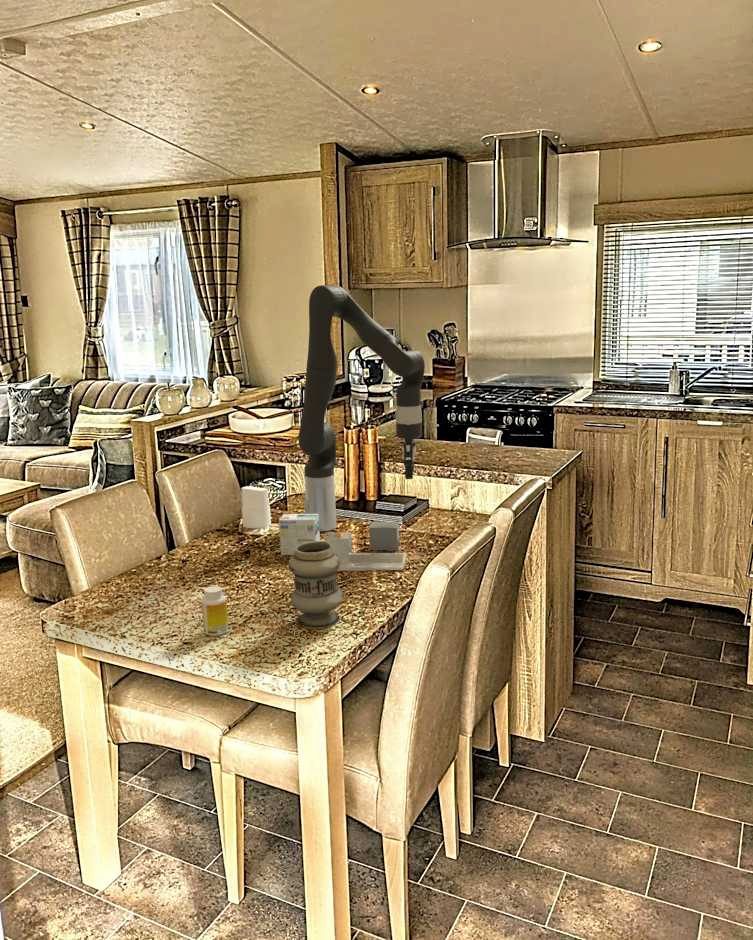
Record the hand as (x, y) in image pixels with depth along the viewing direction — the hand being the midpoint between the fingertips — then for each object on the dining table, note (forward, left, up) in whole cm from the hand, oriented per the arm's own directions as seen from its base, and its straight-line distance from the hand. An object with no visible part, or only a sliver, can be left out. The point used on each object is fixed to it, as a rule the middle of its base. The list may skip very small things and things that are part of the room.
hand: (409, 475), depth 249 cm
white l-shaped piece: (-11, -21, -20) cm, 31 cm away
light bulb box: (-31, -11, -20) cm, 39 cm away
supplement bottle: (-39, -68, -20) cm, 81 cm away
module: (-7, -7, -20) cm, 22 cm away
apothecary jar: (-17, -61, -20) cm, 66 cm away
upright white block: (-51, +17, -20) cm, 58 cm away
